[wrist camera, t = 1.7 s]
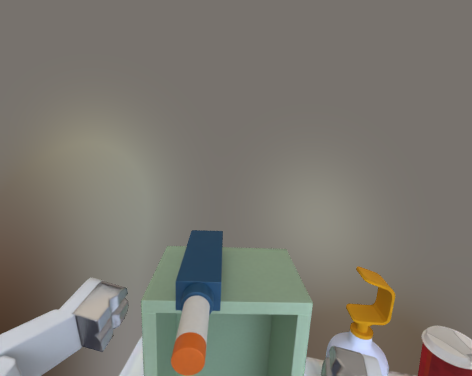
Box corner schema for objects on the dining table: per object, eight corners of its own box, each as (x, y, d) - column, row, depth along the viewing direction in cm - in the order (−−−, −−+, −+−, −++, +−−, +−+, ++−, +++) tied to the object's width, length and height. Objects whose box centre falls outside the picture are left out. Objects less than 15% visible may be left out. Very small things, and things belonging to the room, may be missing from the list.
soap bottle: (315, 378, 50) (331, 256, 45) (365, 382, 50) (388, 260, 44) (328, 431, 42) (351, 288, 36) (389, 436, 41) (421, 293, 36)
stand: (290, 488, 35) (313, 303, 29) (148, 490, 34) (140, 300, 28) (272, 391, 47) (286, 248, 41) (169, 391, 47) (167, 245, 41)
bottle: (218, 380, 20) (220, 343, 19) (156, 380, 19) (155, 342, 19) (221, 251, 39) (222, 231, 39) (191, 250, 39) (191, 230, 39)
